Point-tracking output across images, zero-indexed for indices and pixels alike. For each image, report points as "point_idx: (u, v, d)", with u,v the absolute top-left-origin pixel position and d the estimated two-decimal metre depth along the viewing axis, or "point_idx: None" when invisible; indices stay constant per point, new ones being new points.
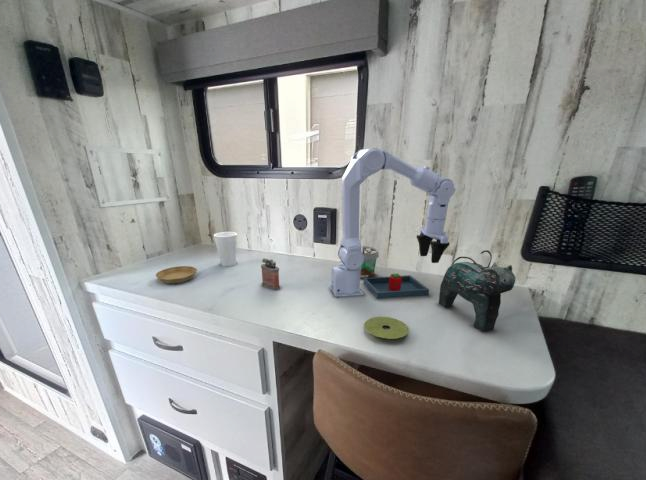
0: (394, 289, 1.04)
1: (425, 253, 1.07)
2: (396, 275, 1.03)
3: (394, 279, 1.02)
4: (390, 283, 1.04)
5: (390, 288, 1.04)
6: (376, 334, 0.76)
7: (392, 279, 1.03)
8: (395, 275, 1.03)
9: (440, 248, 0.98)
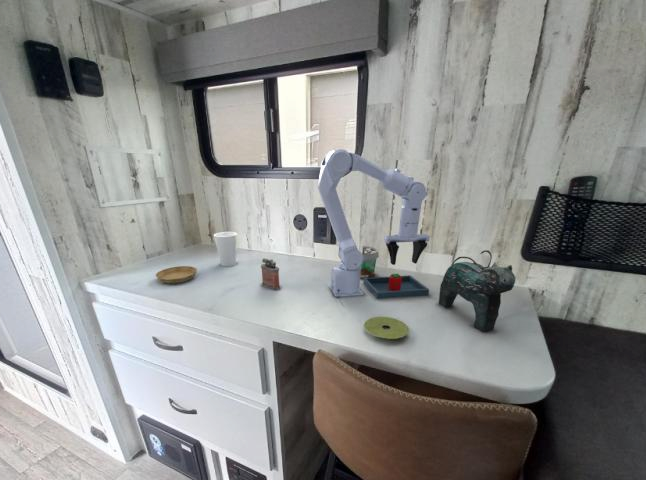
0: (394, 289, 1.04)
1: (414, 260, 1.02)
2: (396, 275, 1.03)
3: (394, 279, 1.02)
4: (390, 283, 1.04)
5: (390, 288, 1.04)
6: (376, 334, 0.76)
7: (392, 279, 1.03)
8: (395, 275, 1.03)
9: None
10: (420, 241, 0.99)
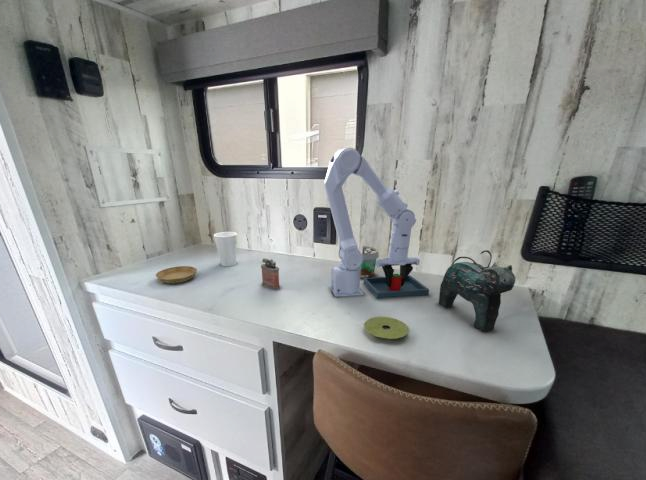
0: (394, 289, 1.04)
1: (401, 282, 1.05)
2: (396, 275, 1.03)
3: (394, 279, 1.02)
4: None
5: (390, 288, 1.04)
6: (376, 334, 0.76)
7: (392, 279, 1.03)
8: (395, 275, 1.03)
9: None
10: (410, 264, 1.02)
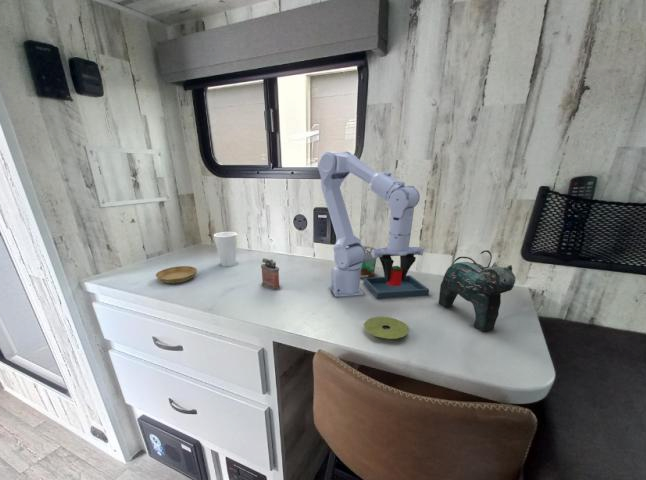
0: (394, 284, 0.89)
1: None
2: (396, 267, 0.88)
3: (394, 272, 0.87)
4: None
5: (389, 283, 0.89)
6: (376, 334, 0.76)
7: (391, 272, 0.88)
8: (395, 267, 0.88)
9: None
10: (413, 255, 0.87)
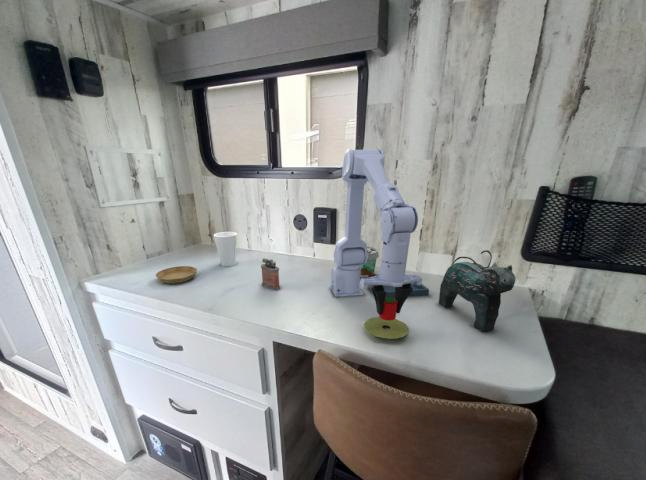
0: (387, 318, 0.76)
1: None
2: (390, 299, 0.75)
3: (387, 305, 0.74)
4: None
5: (382, 316, 0.77)
6: (376, 334, 0.76)
7: (384, 304, 0.75)
8: (388, 299, 0.75)
9: None
10: (409, 285, 0.74)
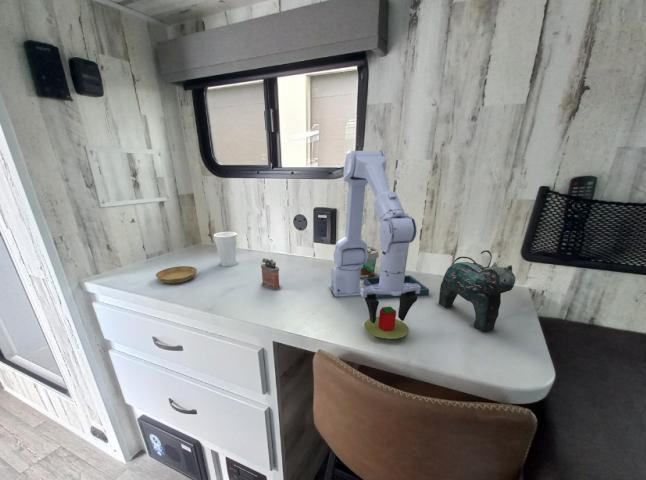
0: (386, 328, 0.77)
1: (401, 316, 0.78)
2: (388, 309, 0.76)
3: (386, 315, 0.76)
4: (380, 320, 0.77)
5: (380, 326, 0.78)
6: (376, 334, 0.76)
7: (383, 315, 0.76)
8: (387, 309, 0.76)
9: None
10: (408, 293, 0.75)
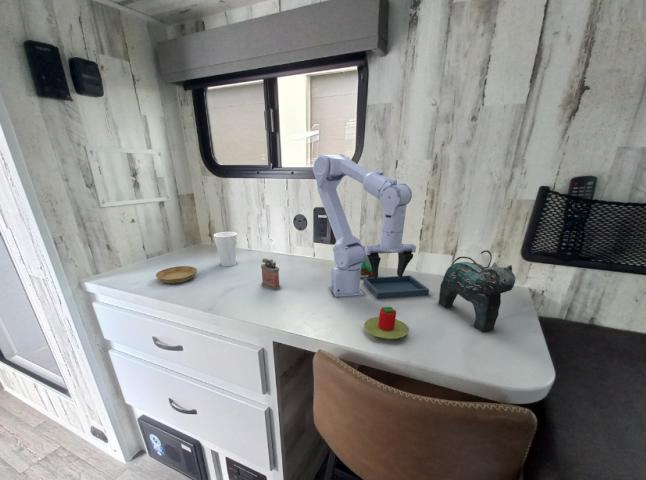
0: (386, 328, 0.77)
1: (399, 273, 0.91)
2: (388, 309, 0.76)
3: (386, 315, 0.76)
4: (380, 320, 0.77)
5: (380, 326, 0.78)
6: (376, 334, 0.76)
7: (383, 315, 0.76)
8: (387, 309, 0.76)
9: None
10: (405, 252, 0.88)
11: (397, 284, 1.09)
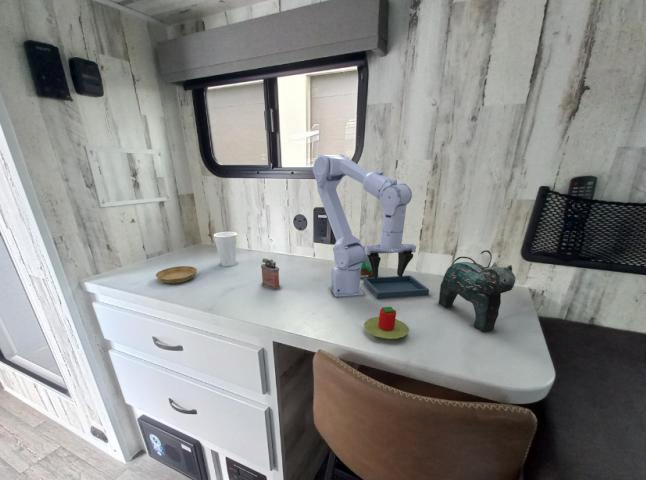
0: (386, 328, 0.77)
1: (399, 273, 0.91)
2: (388, 309, 0.76)
3: (386, 315, 0.76)
4: (380, 320, 0.77)
5: (380, 326, 0.78)
6: (376, 334, 0.76)
7: (383, 315, 0.76)
8: (387, 309, 0.76)
9: None
10: (405, 252, 0.88)
11: (397, 284, 1.09)
